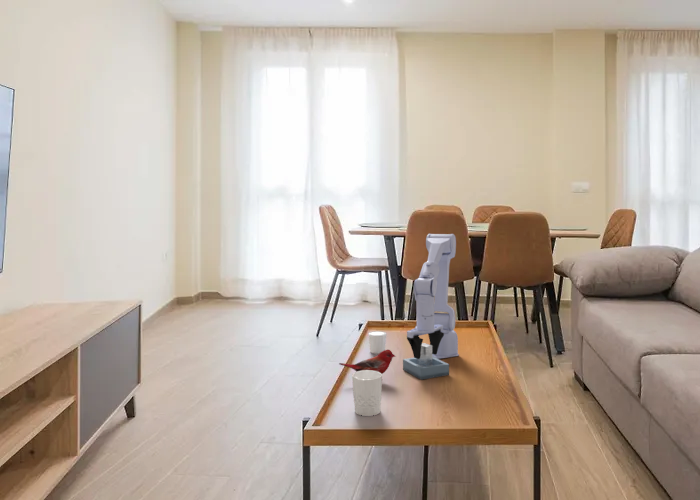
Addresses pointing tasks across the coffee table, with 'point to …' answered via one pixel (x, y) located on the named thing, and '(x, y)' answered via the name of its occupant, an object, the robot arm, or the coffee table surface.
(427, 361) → the grey t-shaped bar
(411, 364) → the slate well
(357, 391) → the white cup
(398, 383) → the coffee table surface
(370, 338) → the off-white tapered cylinder
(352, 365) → the decorative bird figurine
